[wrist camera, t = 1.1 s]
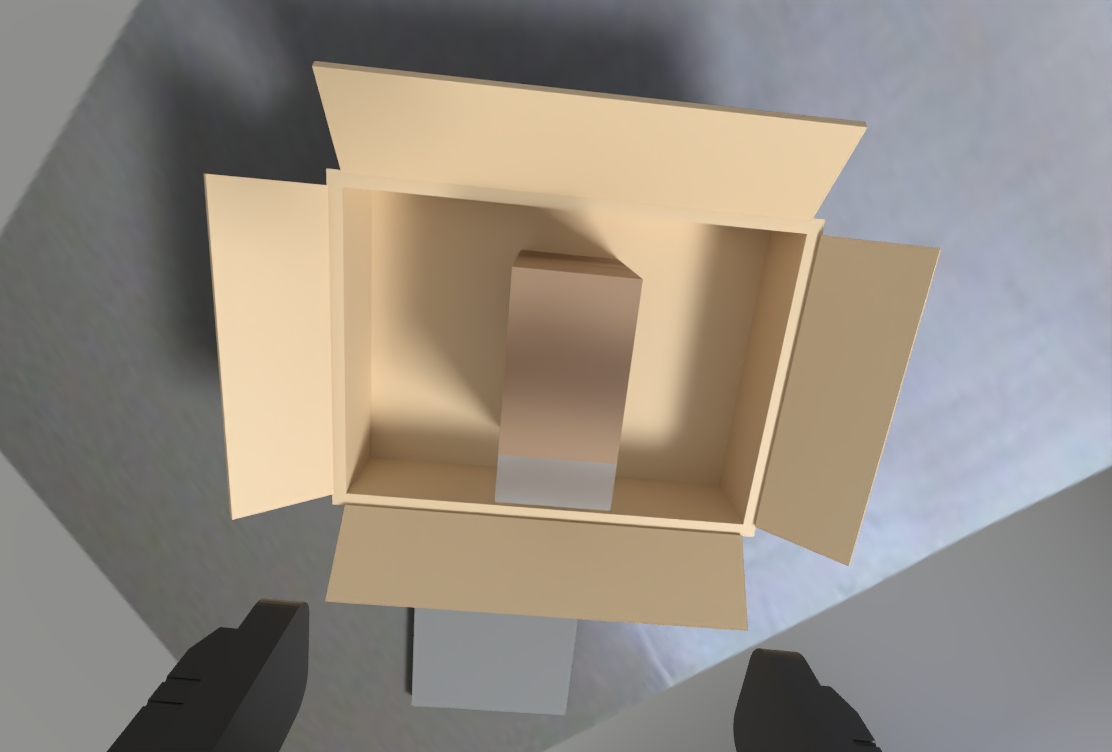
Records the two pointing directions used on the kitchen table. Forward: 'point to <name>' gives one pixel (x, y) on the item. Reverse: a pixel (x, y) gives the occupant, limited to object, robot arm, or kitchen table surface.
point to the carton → (481, 334)
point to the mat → (492, 661)
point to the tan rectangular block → (565, 379)
